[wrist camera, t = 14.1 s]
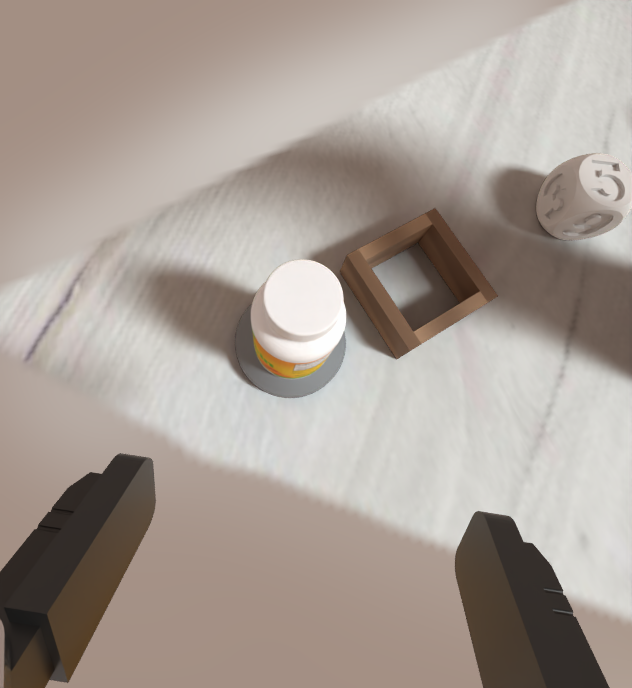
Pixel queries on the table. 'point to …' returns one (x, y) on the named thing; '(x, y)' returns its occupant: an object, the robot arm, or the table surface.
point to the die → (585, 197)
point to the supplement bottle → (297, 318)
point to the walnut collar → (445, 259)
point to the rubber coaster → (275, 383)
